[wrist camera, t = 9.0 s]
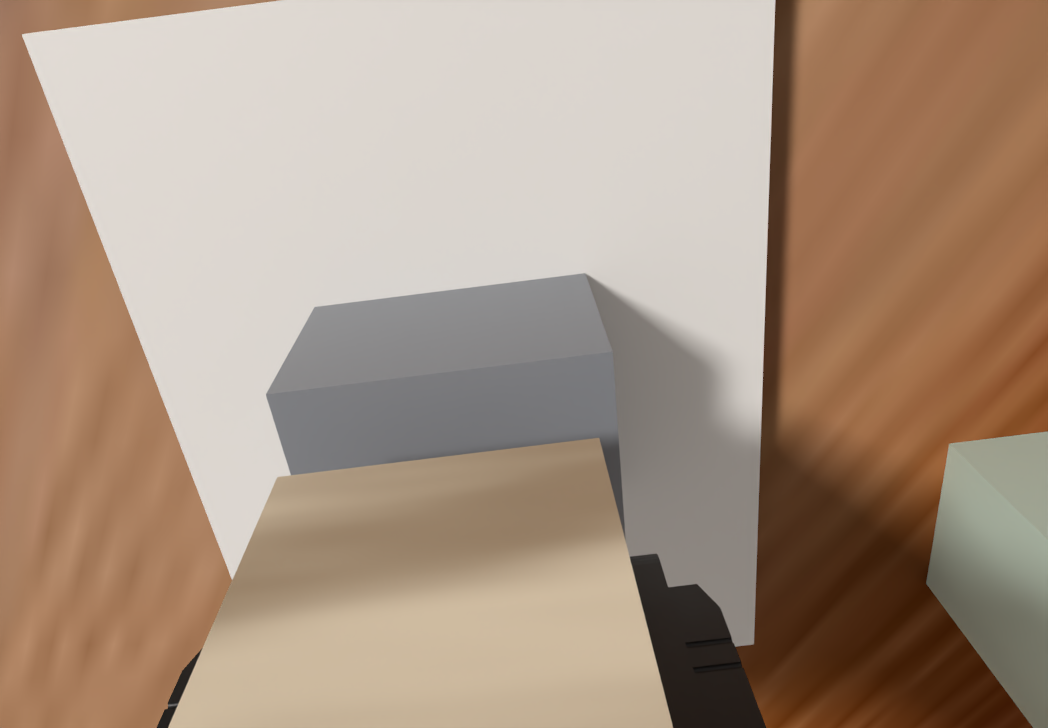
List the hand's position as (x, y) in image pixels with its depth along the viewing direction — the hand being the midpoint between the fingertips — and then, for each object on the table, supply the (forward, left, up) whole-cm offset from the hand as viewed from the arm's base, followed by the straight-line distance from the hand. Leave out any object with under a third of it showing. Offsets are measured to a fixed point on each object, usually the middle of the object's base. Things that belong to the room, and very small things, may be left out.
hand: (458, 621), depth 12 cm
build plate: (0, 0, -8) cm, 8 cm away
